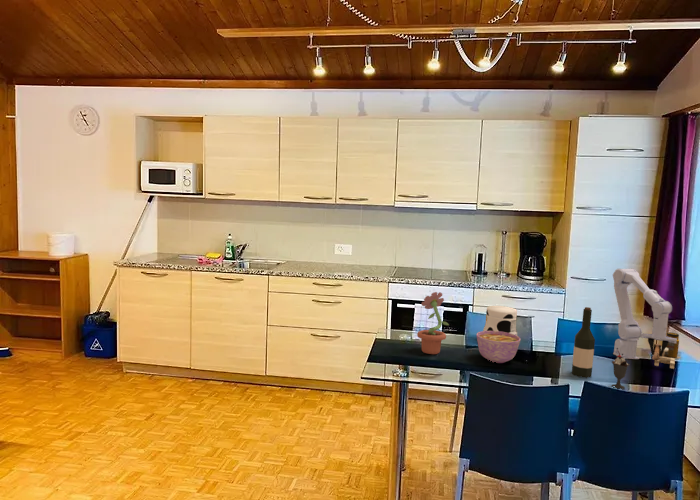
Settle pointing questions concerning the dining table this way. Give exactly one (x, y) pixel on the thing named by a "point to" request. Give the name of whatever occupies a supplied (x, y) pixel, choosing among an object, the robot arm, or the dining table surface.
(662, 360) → the notched board
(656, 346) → the copper peg
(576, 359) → the wine bottle
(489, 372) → the dining table surface
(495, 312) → the milk container
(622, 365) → the sundae
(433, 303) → the decorative flower
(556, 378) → the dining table surface
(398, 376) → the dining table surface
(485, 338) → the bowl of food
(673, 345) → the condiment
